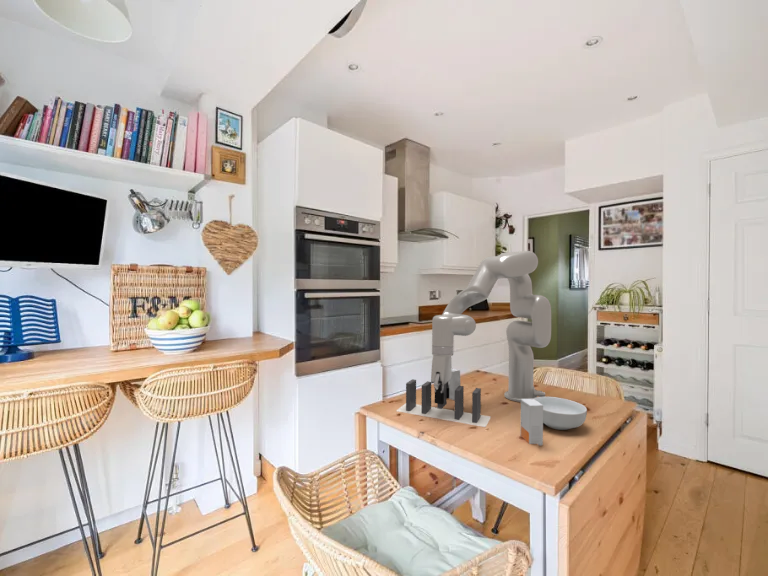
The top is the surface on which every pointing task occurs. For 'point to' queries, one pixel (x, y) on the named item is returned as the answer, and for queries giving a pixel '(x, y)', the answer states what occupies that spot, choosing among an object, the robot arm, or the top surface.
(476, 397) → the domino
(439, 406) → the domino
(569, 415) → the cereal bowl
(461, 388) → the domino
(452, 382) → the skincare box
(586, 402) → the top surface
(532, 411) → the skincare box
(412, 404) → the domino
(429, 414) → the board
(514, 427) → the top surface
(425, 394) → the domino
